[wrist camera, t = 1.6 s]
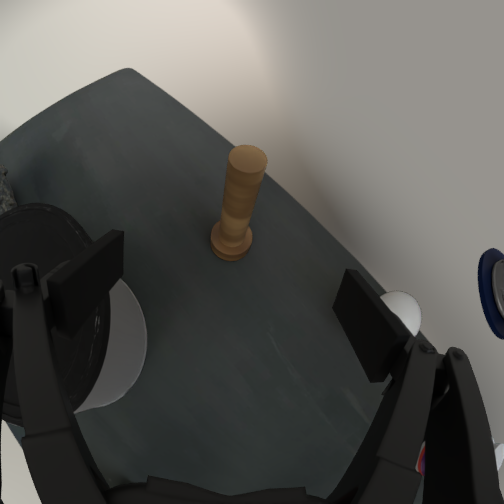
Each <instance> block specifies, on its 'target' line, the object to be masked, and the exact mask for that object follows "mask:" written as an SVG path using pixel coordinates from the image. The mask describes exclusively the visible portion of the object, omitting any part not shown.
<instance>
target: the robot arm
mask: <svg viewBox="0 0 504 504" xmlns="http://www.w3.org/2000/svg"><path fill="white" fill-rule="evenodd" d="M123 248H124V231H119V230H113V229H112V230H111V231H110V232H108V233H107V234H105V235H104V236H102V237H101V238H100V239H98V240H97V241H96V242H94V243H93V244H91V245H90V246H89V247H87V248H86V249H85V250H83V251H82V252H81V253H79V254H78V255H77V256H75V257H74V258H73V259H72V260H68V261H65V262H63V263H60V264H59V265H58V266H56V267H55V269H53V270H51V271H50V273H48V274H46V275H45V276H44V277H43V278H41V279H40V277H39V270H38V267H37V265H35V264H33V263H23V264H19V265H17V266H15V267H14V268H12V270H11V278H12V283H13V288H14V291H13V290H4V286H3V282H2V280H0V504H4V503H3V501H2V500H1V486H2V481H1V423H2V411H3V401H4V393H5V386H6V380H7V374H8V369H9V364H10V359H11V354H12V350H13V352H14V366H15V376H16V385H17V392H18V399H19V405H20V410H21V415H22V420H23V425H24V429H25V437H22V440H21V442H22V448H23V452H24V455H25V459H26V462H27V465H28V468H29V471H30V474H31V477H32V480H33V483H34V485H35V488H36V490H37V493H38V496H39V498H40V500H41V503H42V504H413V502H414V499H415V497H416V494H417V491H418V488H419V485H420V482H421V476H422V475H421V473H420V472H417V471H415V467H416V464H417V461H418V457H419V454H420V450H421V446H422V443H423V439H424V435H425V474H424V490H423V501H422V504H504V500H503V497H502V494H501V491H500V489H499V479H498V470H497V463H496V456H495V451H494V445H493V440H492V436H491V431H490V427H489V423H488V419H487V414H486V411H485V407H484V404H483V400H482V397H481V394H480V391H479V387H478V384H477V381H476V378H475V375H474V373H473V370H472V367H471V364H470V362H469V359H468V357H467V355H466V354H465V353H464V351H463V350H461V349H458V348H456V347H450V348H449V349H448V351H447V353H446V354H445V355H443V354H438V353H437V350H436V349H435V347H434V346H433V345H432V344H430V343H429V342H427V341H424V340H419V339H418V340H417V339H416V338H415V337H414V336H413V334H412V333H411V332H410V330H409V329H408V328H407V327H406V325H405V324H404V323H402V320H401V319H400V318H399V317H398V316H397V315H396V314H395V313H393V312H392V311H391V310H390V309H389V308H388V306H387V305H386V304H385V303H384V302H383V300H382V299H381V298H380V297H379V296H378V294H377V293H376V292H375V291H374V290H373V288H372V287H371V286H370V285H369V284H368V283H367V281H366V280H365V279H364V278H363V277H362V276H361V275H360V273H359V272H358V271H357V270H351V269H346V270H345V273H344V276H343V279H342V282H341V285H340V288H339V291H338V293H337V296H336V299H335V302H334V304H333V307H332V308H333V310H334V312H335V314H336V316H337V318H338V320H339V321H340V323H341V325H342V327H343V329H344V331H345V333H346V335H347V337H348V339H349V341H350V343H351V345H352V347H353V349H354V351H355V353H356V355H357V357H358V359H359V361H360V363H361V365H362V367H363V369H364V371H365V373H366V375H367V377H368V379H369V381H370V383H375V382H384V380H385V379H386V377H387V375H388V374H389V372H390V374H391V376H392V377H393V378H392V380H391V381H390V383H389V384H388V386H387V387H386V389H385V390H384V391H383V393H382V394H381V395H384V397H383V399H382V402H381V404H380V406H379V409H378V411H377V413H376V415H375V418H374V420H373V422H372V424H371V426H370V428H369V430H368V432H367V434H366V436H365V438H364V440H363V442H362V444H361V446H360V448H359V450H358V452H357V453H356V455H355V457H354V459H353V461H352V462H351V464H350V466H349V467H348V469H347V471H346V473H345V474H344V476H343V477H342V479H341V481H340V482H339V484H338V485H337V487H336V488H335V490H334V491H333V492H332V493H331V494H330V495H329V496H328V497H327V499H326V500H325V499H322V498H319V497H316V496H311V495H306V490H305V487H298V488H279V489H265V490H261V491H256V492H251V493H246V494H240V495H234V496H226V495H222V494H219V493H215V492H212V491H209V490H206V489H203V488H200V487H197V486H194V485H191V484H189V483H184V482H178V481H173V480H168V479H163V478H158V477H154V476H149V475H148V479H147V483H144V482H140V483H129V484H123V485H119V486H116V487H113V488H110V487H109V485H108V484H107V482H106V481H105V479H104V477H103V476H102V474H101V472H100V471H99V469H98V467H97V465H96V463H95V461H94V459H93V457H92V455H91V453H90V451H89V449H88V447H87V444H86V442H85V440H84V438H83V435H82V433H81V431H80V428H79V426H78V423H77V420H76V418H75V415H74V412H73V410H72V407H71V404H70V401H69V398H68V395H67V392H66V389H65V386H64V382H63V379H62V375H61V372H60V368H59V364H58V360H57V356H56V352H55V347H54V343H53V338H52V334H51V330H52V328H53V327H54V326H55V327H56V331H57V335H58V336H59V337H62V338H64V339H67V340H70V341H72V339H73V338H74V337H75V335H76V334H77V333H78V331H79V330H80V329H81V327H82V326H83V324H84V323H85V322H86V321H87V319H88V318H89V317H90V315H91V314H92V313H93V311H94V310H95V309H96V308H97V306H98V305H99V304H100V302H101V301H102V300H103V299H104V297H105V296H106V295H107V294H108V292H109V291H110V290H111V289H112V288H113V286H114V285H115V284H116V283H117V282H118V280H119V279H120V278H121V277H122V276H123ZM491 289H492V294H493V299H494V302H495V306H496V308H497V311H498V313H499V315H500V316H501V318H502V319H503V320H504V259H503V260H500V261H498V262H496V263H495V264H494V265H493V267H492V270H491ZM446 392H447V393H446Z"/></svg>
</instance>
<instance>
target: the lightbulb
mask: <svg viewBox="0 0 504 504" xmlns="http://www.w3.org/2000/svg"><path fill="white" fill-rule="evenodd" d="M380 298H381V299H382V300H383V302H384V303H385V304H386V305H387V306H388V308H389V309H390V310H391V311H392V312H393V313H395V314H396V315H397V316H398V317H399V318H400V319H401V320H402V323H404V324H405V325H406V327H407V328H408V329H409V330H410V332H411V333H412V334H413V336H414V337H415V336H416V335H417V333H418V331H419V329H420V326H421V322H422V313H421V308H420V306H419V304H418V302H417V301H416V299H415V298H414V297H413V296H411V295H410V294H408V293H406V292H403V291H391V292H388V293H385V294H383V295H382V296H380Z"/></svg>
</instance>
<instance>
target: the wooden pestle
mask: <svg viewBox="0 0 504 504" xmlns="http://www.w3.org/2000/svg"><path fill="white" fill-rule="evenodd" d="M266 166H267V157H266V155H265V153H264V152H263V151H262V150H260V149H259V148H257V147H255V146H251V145H240V146H237V147H235V148H234V149H232V150H231V152H230V153H229V157H228V164H227V172H226V179H225V187H224V195H223V204H222V212H221V220H220V221H219V222H217V223H216V224H215V225H214V227H213V228H212V231H211V248H212V250H213V252H214V253H215V254H216V255H217V256H218V257H219V258H221V259H223V260H227V261H236V260H239V259H241V258H243V257H244V256H245V255H246V254H247V253H248V251H249V249H250V246H251V243H252V232H251V229H250V227H249V226H248V225H249V222H250V218H251V215H252V212H253V208H254V205H255V202H256V199H257V195H258V192H259V189H260V185H261V182H262V179H263V176H264V172H265V169H266Z"/></svg>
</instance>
